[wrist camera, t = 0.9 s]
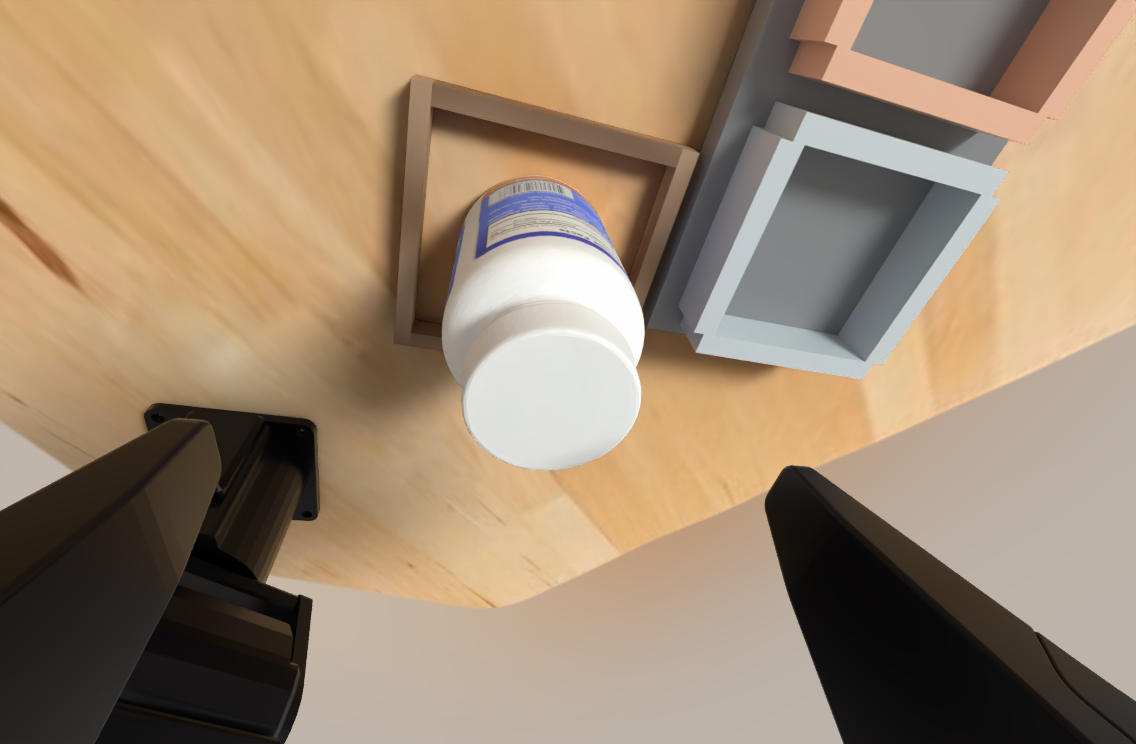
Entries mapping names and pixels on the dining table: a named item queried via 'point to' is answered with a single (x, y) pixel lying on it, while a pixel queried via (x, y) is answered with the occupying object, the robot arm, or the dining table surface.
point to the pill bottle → (542, 327)
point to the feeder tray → (540, 121)
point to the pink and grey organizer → (859, 167)
